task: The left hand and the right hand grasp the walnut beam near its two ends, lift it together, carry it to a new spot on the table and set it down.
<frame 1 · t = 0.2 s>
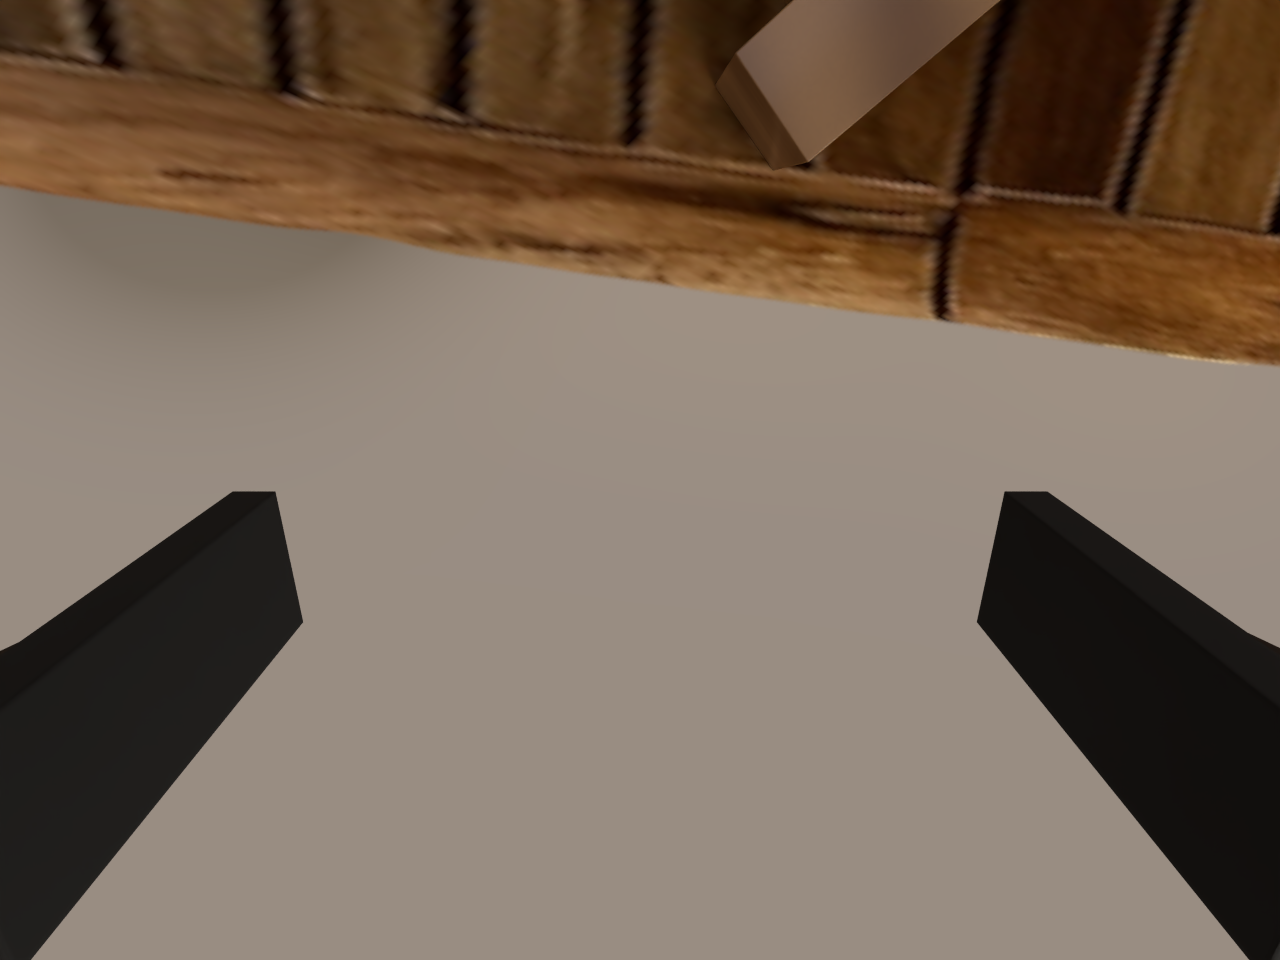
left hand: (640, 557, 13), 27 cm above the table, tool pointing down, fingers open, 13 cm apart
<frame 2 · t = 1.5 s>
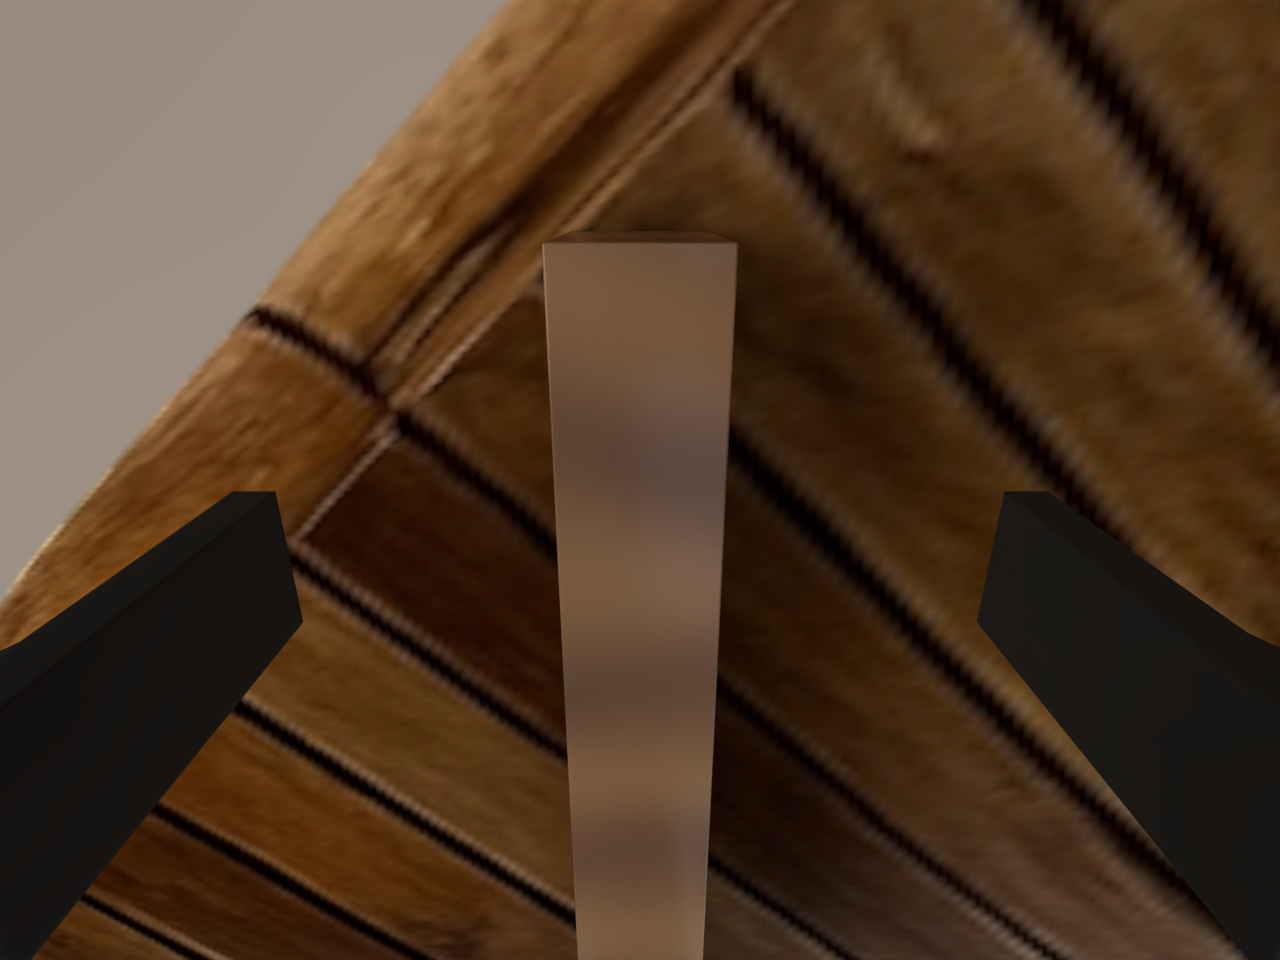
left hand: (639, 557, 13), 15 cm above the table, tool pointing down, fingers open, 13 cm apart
beam: (640, 839, 36), on the table
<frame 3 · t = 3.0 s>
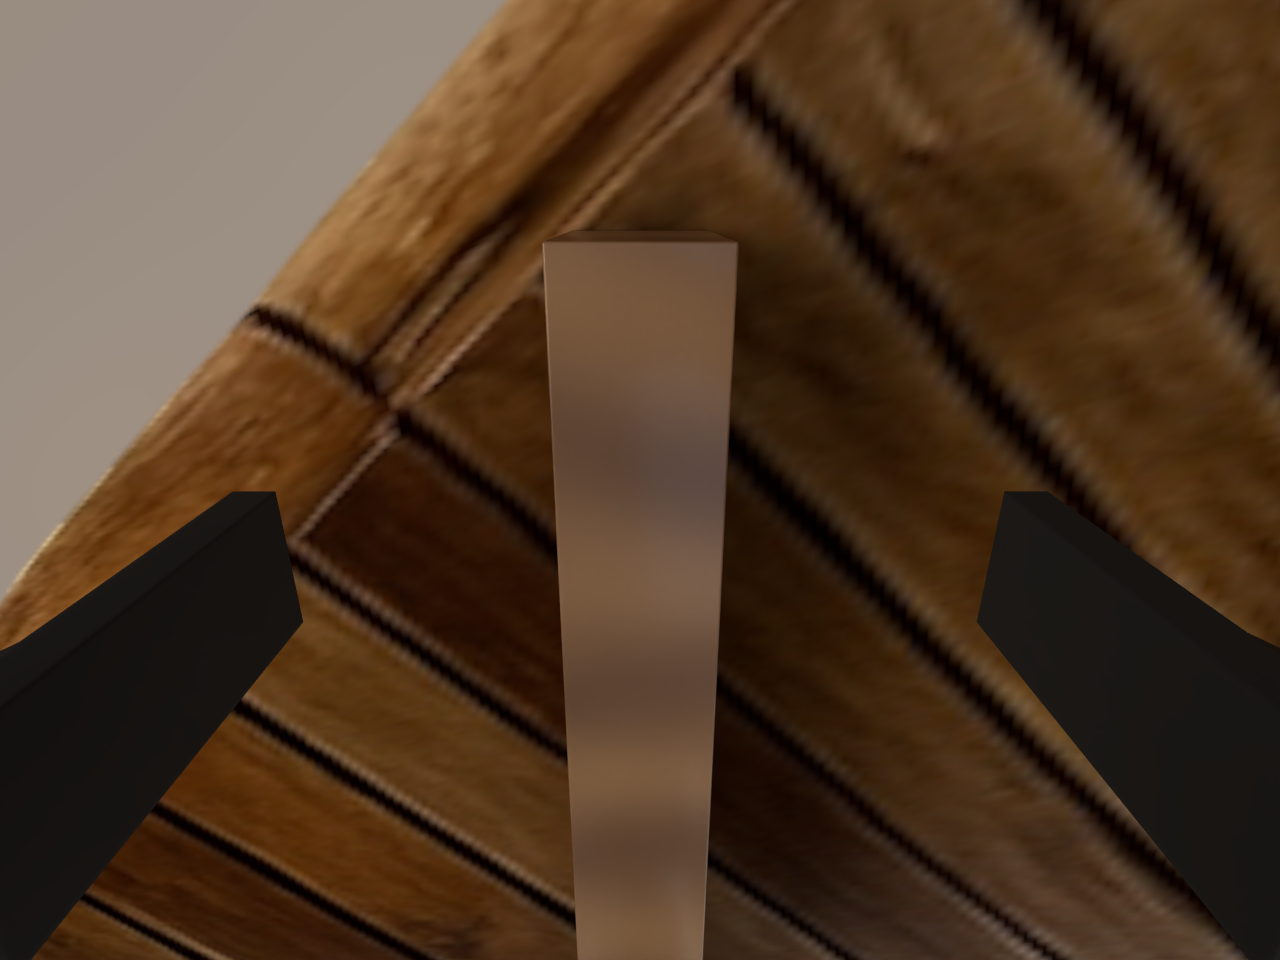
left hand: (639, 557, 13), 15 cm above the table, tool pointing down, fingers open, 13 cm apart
beam: (640, 839, 36), on the table, touching right hand
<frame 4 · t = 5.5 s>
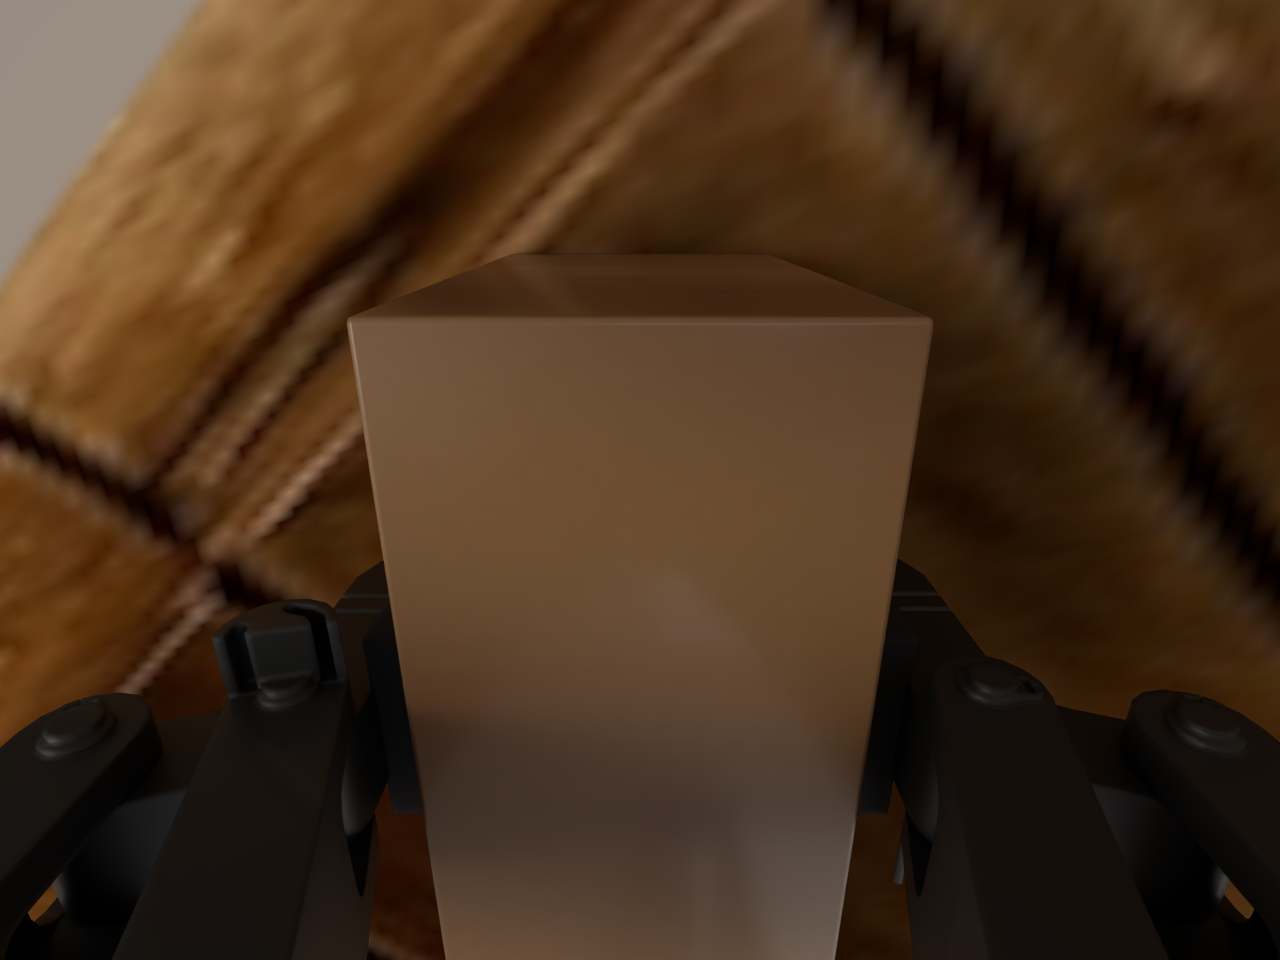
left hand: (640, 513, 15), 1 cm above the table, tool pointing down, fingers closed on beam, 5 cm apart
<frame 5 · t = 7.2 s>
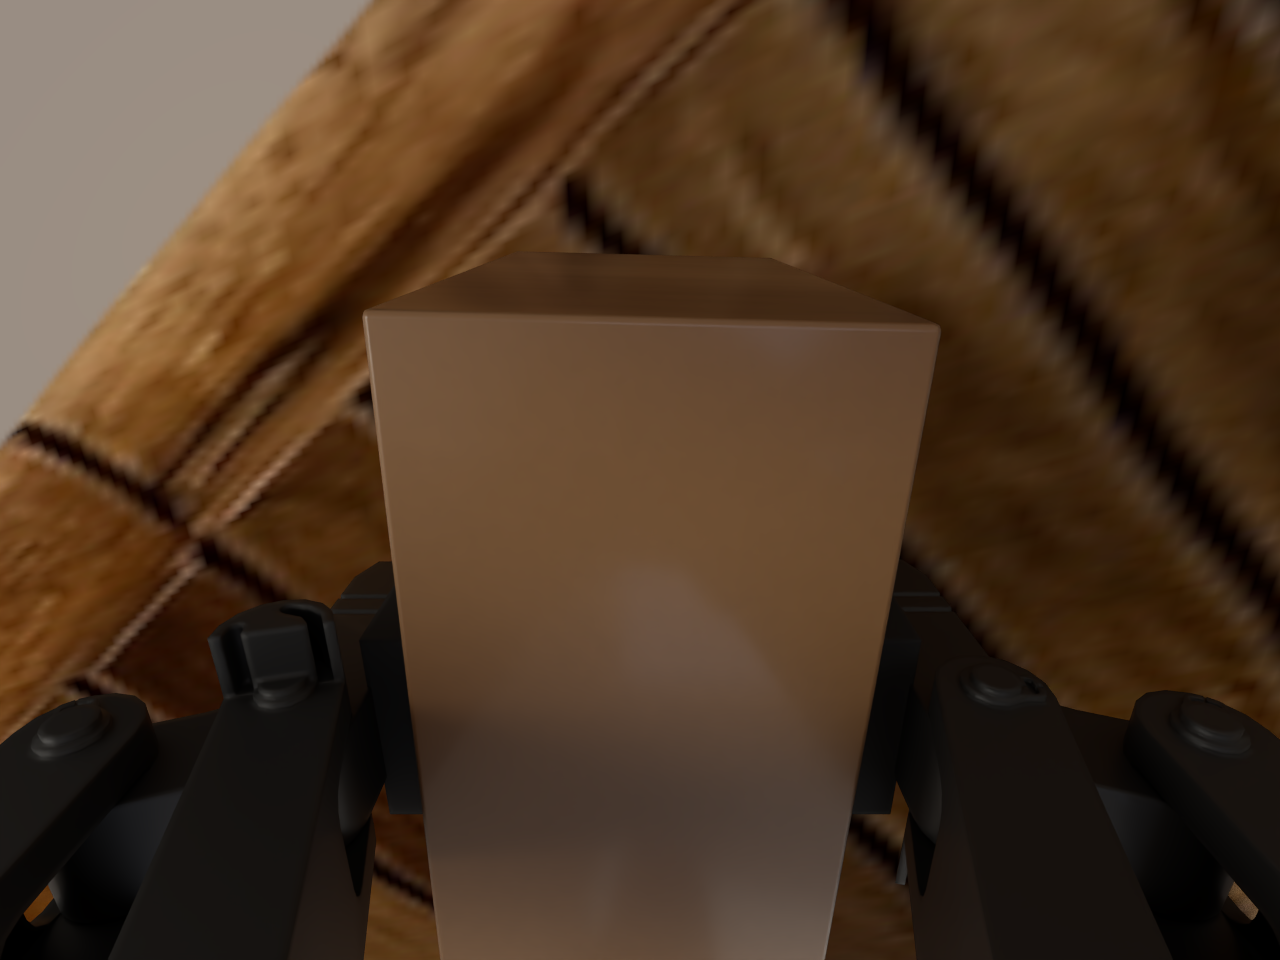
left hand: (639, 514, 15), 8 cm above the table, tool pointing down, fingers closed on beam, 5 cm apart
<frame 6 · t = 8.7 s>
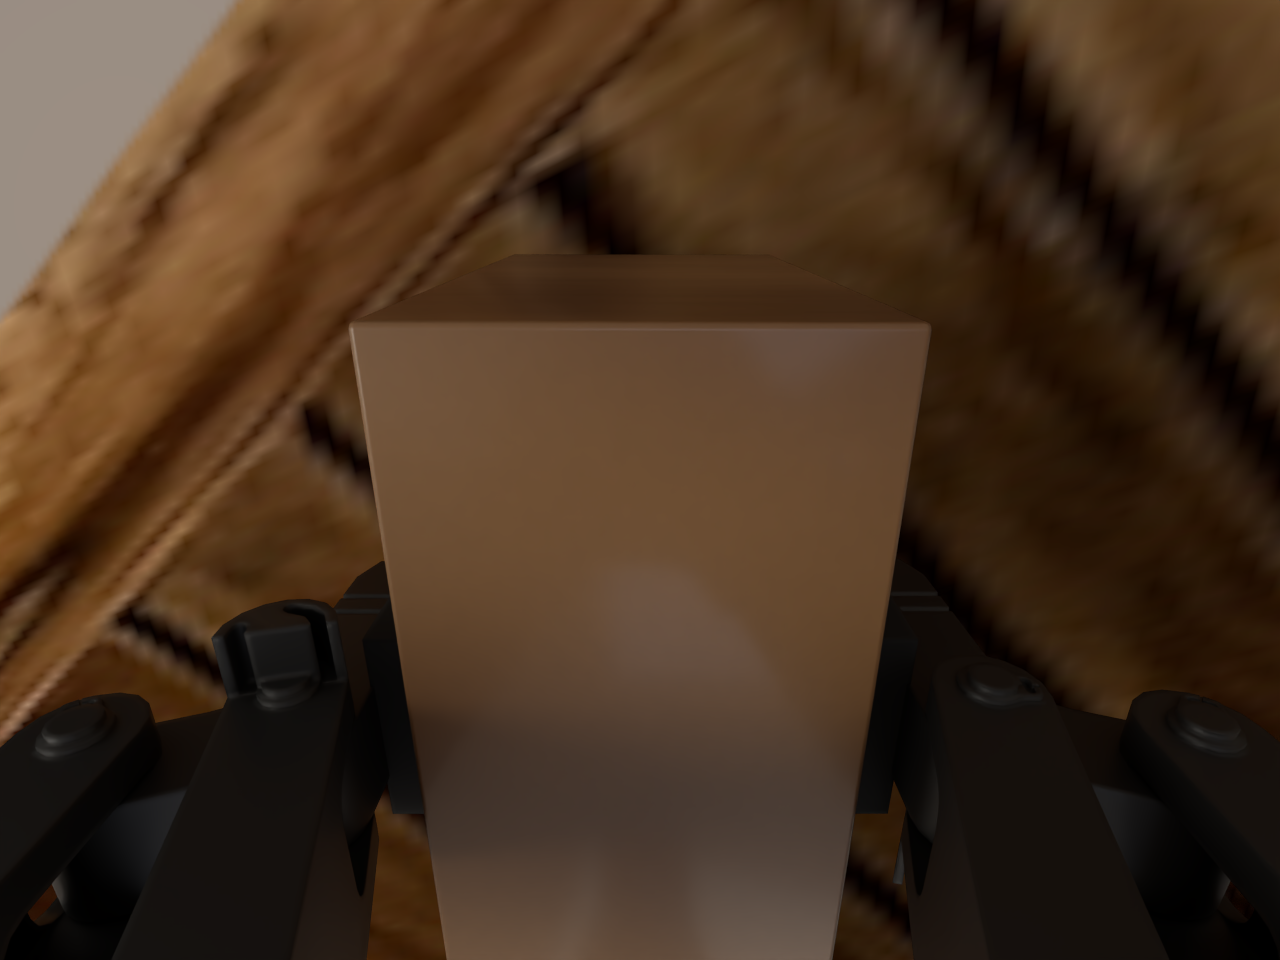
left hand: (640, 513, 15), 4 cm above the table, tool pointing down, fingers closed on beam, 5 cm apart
when the left hand's fingers open (2 cm above the table, at t = 9.3 s): beam drops 1 cm, on the table.
when the right hand's fingers open (4 cm above the table, at t = 9.5 s): beam stays where it is, on the table.
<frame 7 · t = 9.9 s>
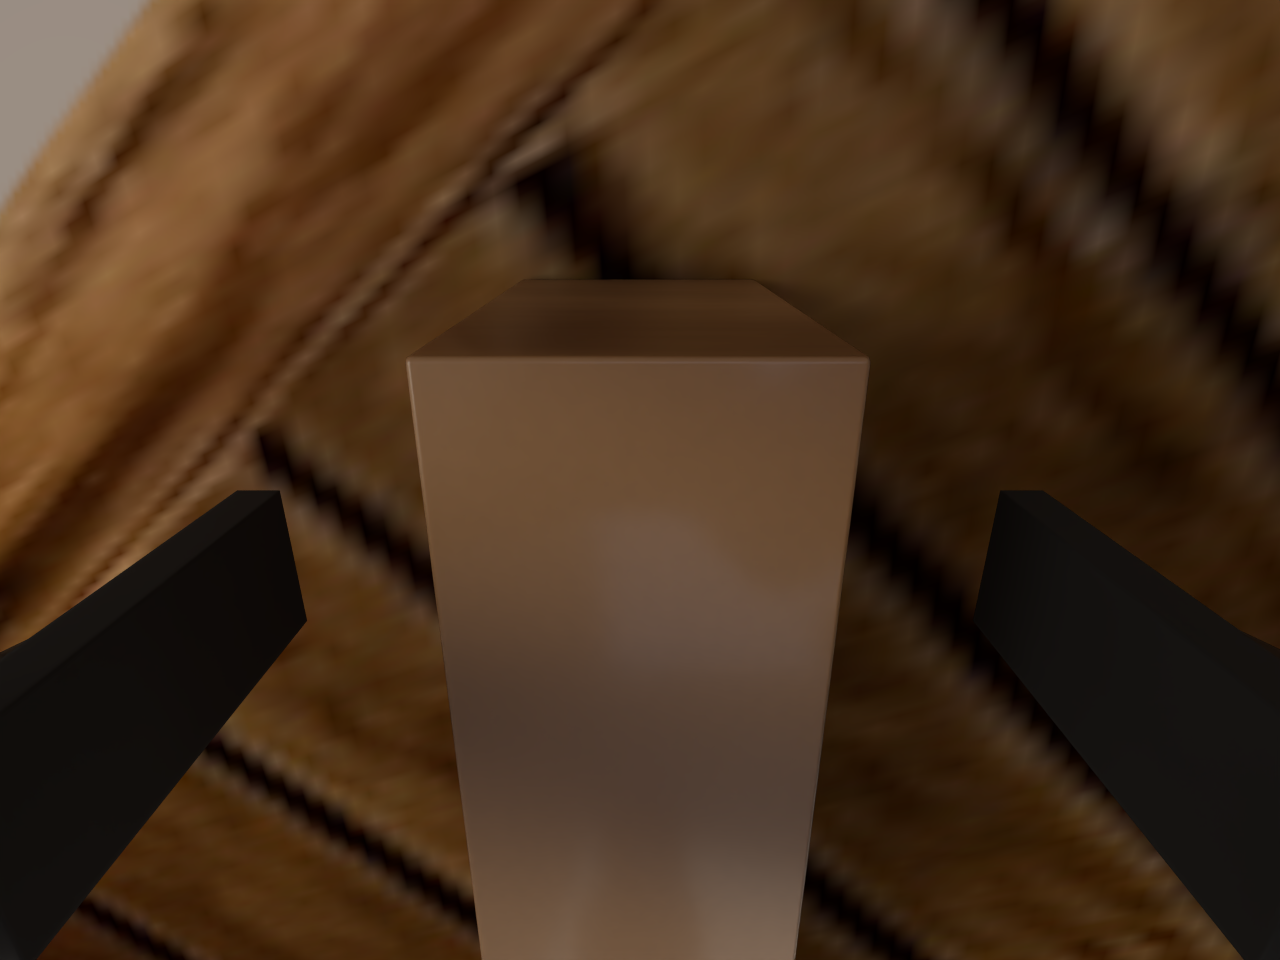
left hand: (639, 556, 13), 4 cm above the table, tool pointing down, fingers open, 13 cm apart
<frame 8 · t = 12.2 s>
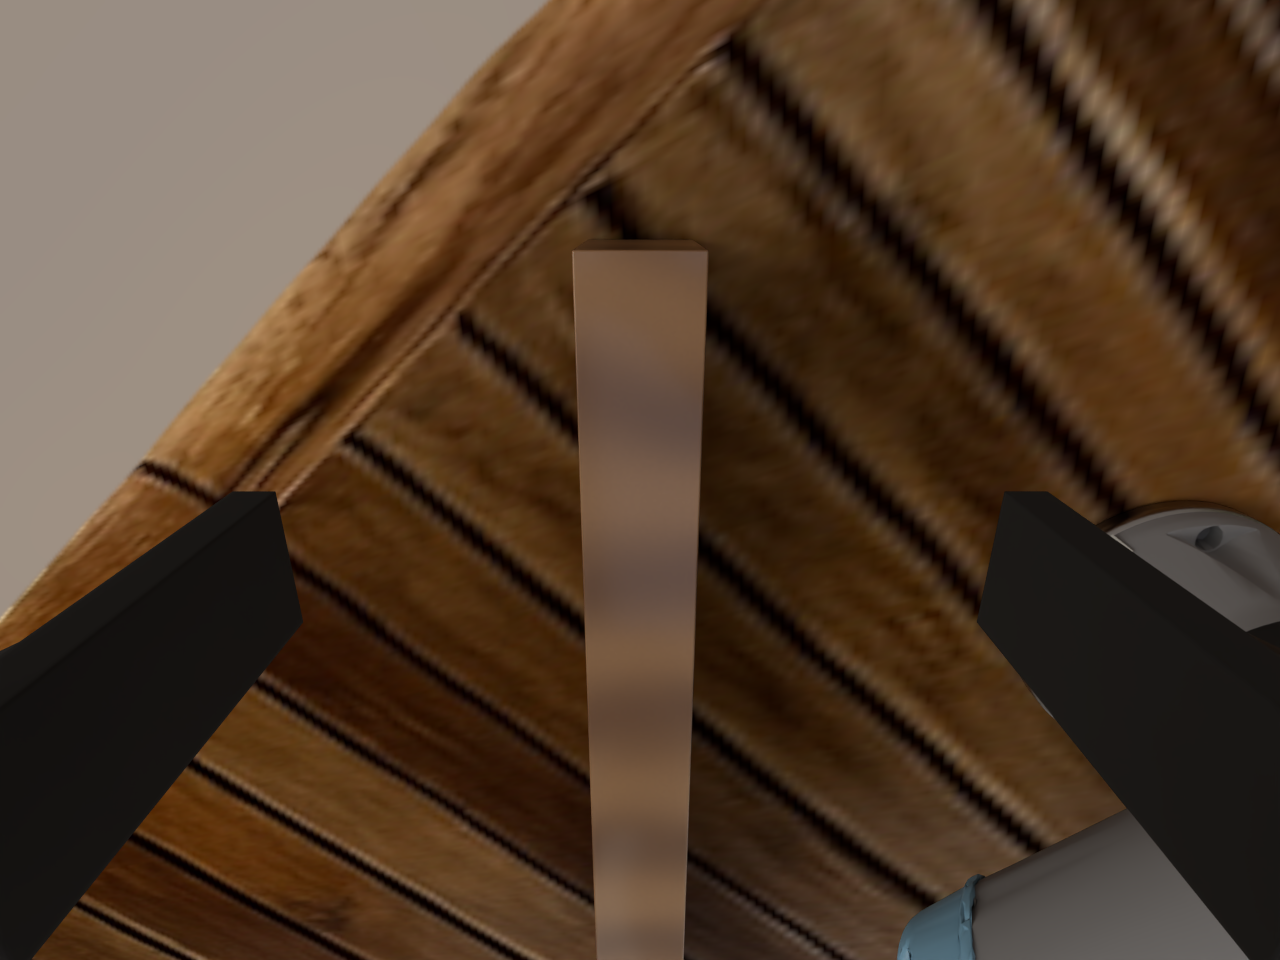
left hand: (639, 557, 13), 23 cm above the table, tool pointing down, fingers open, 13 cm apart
beam: (639, 738, 43), on the table
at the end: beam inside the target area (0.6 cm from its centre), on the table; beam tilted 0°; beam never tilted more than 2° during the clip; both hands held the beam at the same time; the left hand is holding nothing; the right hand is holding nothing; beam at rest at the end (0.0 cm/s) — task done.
